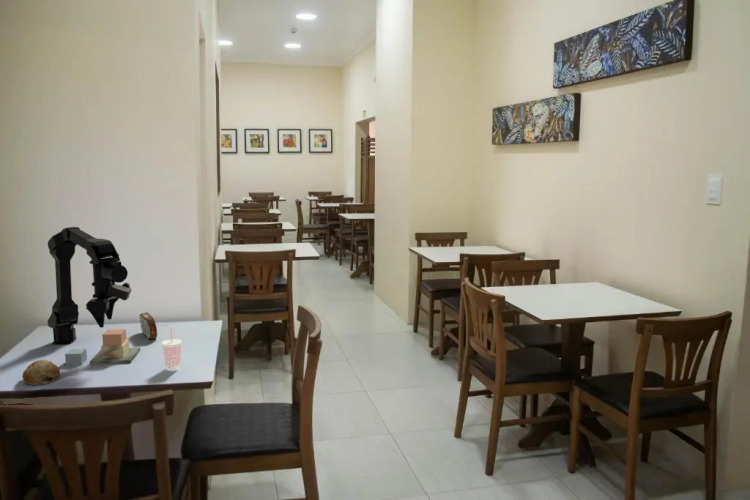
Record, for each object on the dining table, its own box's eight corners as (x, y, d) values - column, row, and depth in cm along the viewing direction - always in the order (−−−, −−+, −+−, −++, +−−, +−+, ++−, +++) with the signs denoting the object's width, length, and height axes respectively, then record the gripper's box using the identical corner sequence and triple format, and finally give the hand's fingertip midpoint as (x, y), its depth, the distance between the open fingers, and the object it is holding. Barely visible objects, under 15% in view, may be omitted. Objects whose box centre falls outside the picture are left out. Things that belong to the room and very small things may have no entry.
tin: (158, 340, 229) (157, 318, 228) (149, 342, 228) (148, 320, 226) (147, 330, 242) (146, 309, 240) (139, 331, 240) (138, 310, 238)
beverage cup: (175, 363, 206) (173, 323, 203) (186, 367, 202) (184, 326, 199) (159, 368, 201) (157, 327, 198) (170, 373, 197) (167, 331, 195)
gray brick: (65, 365, 203) (65, 354, 203) (71, 360, 208) (70, 349, 208) (81, 365, 204) (80, 353, 203) (87, 359, 209) (86, 348, 208)
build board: (89, 364, 204) (88, 349, 203) (102, 351, 217) (101, 337, 216) (130, 362, 206) (129, 348, 205) (140, 350, 219) (139, 336, 218)
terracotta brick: (103, 346, 207) (102, 334, 207) (108, 340, 213) (107, 329, 212) (121, 345, 208) (121, 334, 207) (126, 339, 214) (125, 328, 213)
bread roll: (31, 398, 186) (36, 378, 183) (13, 378, 190) (17, 358, 187) (63, 387, 194) (67, 368, 191) (45, 368, 198) (49, 349, 195)
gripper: (120, 284, 198) (123, 331, 200) (134, 272, 216) (137, 315, 219) (84, 284, 196) (87, 332, 199) (101, 272, 214) (104, 315, 217)
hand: (105, 323), depth 208 cm, fingers open, 9 cm apart
